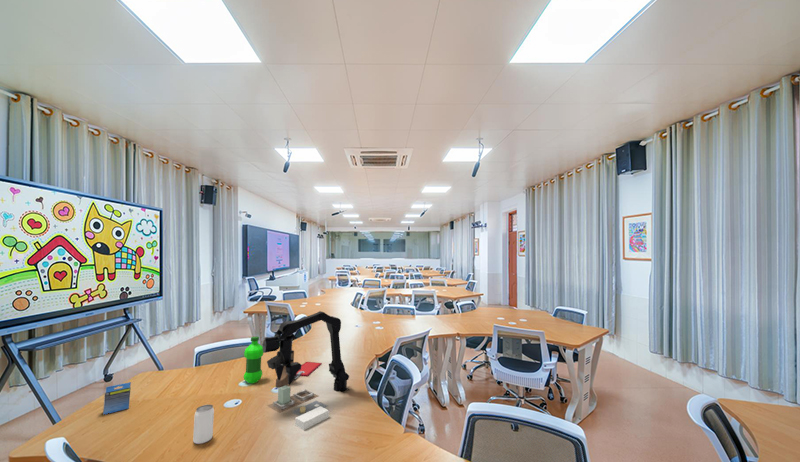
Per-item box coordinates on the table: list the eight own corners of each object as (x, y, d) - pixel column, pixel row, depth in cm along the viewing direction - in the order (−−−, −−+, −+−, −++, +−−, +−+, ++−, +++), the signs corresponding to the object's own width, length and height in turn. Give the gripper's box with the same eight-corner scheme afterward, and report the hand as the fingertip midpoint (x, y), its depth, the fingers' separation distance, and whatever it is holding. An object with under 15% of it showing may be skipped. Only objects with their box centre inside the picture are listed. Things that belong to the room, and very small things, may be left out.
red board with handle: (277, 380, 180) (301, 382, 178) (277, 375, 180) (302, 377, 178) (300, 363, 210) (321, 365, 208) (301, 359, 210) (322, 360, 208)
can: (198, 435, 124) (200, 404, 125) (215, 434, 125) (217, 403, 126) (189, 444, 118) (191, 412, 119) (207, 444, 118) (208, 411, 119)
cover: (320, 415, 140) (320, 406, 141) (328, 419, 137) (328, 410, 137) (295, 427, 130) (295, 417, 130) (303, 432, 126) (303, 422, 127)
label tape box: (128, 405, 148) (130, 379, 149) (129, 408, 145) (131, 381, 146) (103, 412, 142) (105, 384, 143) (103, 415, 139) (105, 387, 140)
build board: (306, 392, 164) (306, 387, 164) (319, 398, 157) (319, 392, 158) (266, 407, 147) (267, 402, 147) (279, 415, 140) (279, 409, 140)
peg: (285, 402, 151) (285, 385, 151) (290, 404, 148) (290, 387, 149) (277, 405, 147) (278, 387, 148) (282, 407, 145) (283, 390, 146)
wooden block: (281, 388, 168) (282, 354, 170) (275, 387, 170) (276, 353, 172) (293, 382, 177) (294, 350, 178) (287, 381, 178) (288, 349, 180)
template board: (316, 402, 152) (316, 396, 153) (328, 408, 147) (328, 401, 147) (291, 413, 141) (291, 407, 142) (302, 420, 136) (303, 413, 136)
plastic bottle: (264, 382, 176) (266, 338, 178) (243, 386, 170) (246, 340, 172) (261, 377, 184) (262, 334, 186) (241, 380, 178) (243, 336, 181)
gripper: (259, 349, 149) (258, 382, 148) (281, 356, 138) (279, 393, 137) (281, 344, 158) (279, 375, 157) (302, 351, 147) (301, 385, 145)
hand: (284, 382), depth 149 cm, fingers open, 9 cm apart
